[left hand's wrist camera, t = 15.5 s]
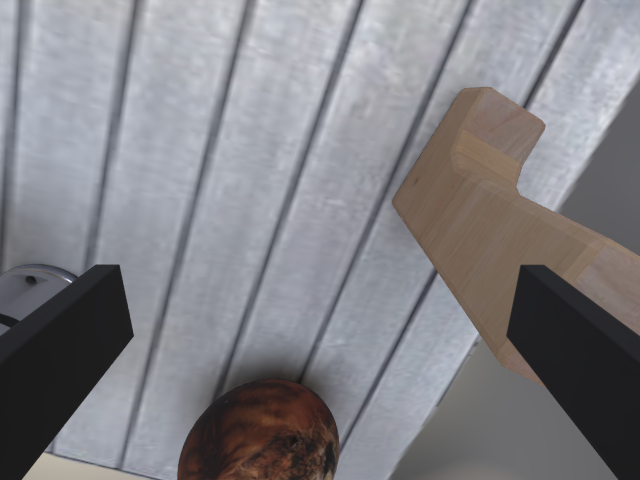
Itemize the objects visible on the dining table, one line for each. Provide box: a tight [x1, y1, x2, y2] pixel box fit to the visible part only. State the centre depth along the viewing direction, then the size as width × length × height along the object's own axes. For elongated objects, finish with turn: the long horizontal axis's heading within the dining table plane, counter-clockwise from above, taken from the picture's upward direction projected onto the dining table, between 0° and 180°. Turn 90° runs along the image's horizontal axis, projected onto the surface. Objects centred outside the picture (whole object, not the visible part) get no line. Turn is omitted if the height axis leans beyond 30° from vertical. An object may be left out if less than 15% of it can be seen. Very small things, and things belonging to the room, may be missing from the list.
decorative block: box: [392, 87, 640, 387], centre depth 30 cm, size 8×15×30 cm, turn 151°
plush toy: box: [177, 379, 339, 480], centre depth 50 cm, size 22×18×20 cm
